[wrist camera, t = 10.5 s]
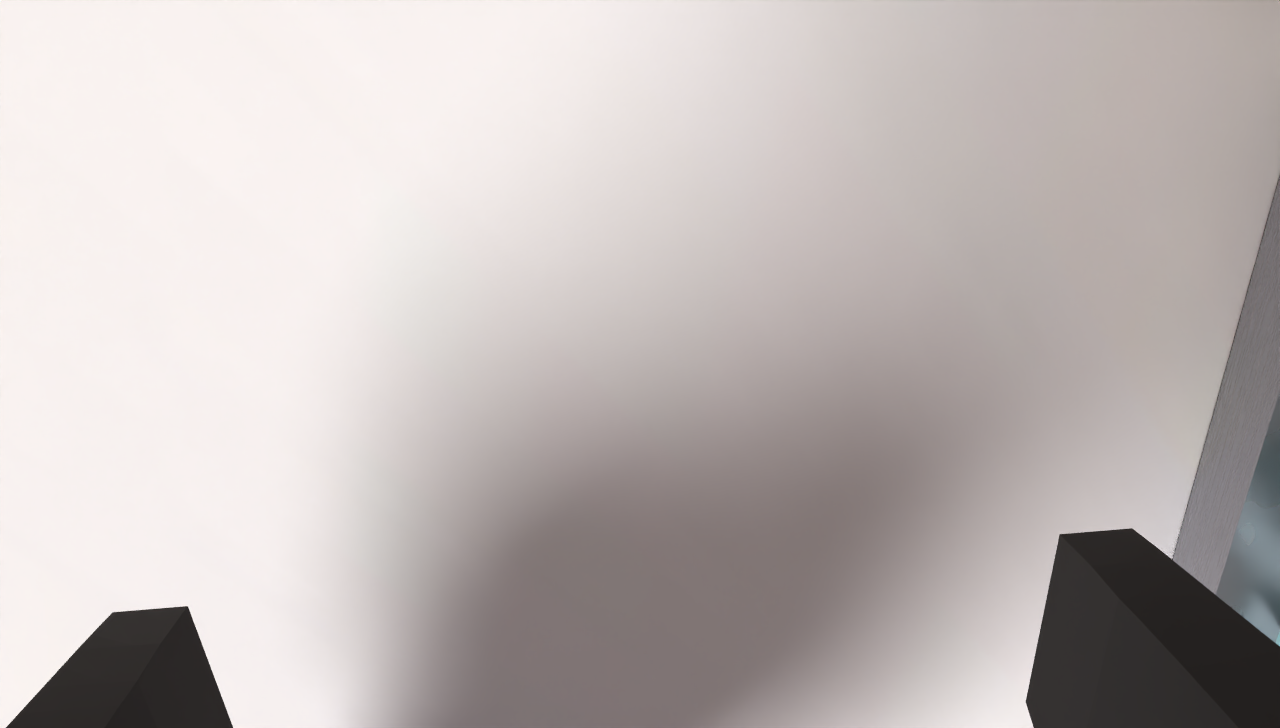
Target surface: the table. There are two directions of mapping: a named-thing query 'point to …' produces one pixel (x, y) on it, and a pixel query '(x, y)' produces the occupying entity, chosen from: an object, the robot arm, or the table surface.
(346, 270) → the table surface
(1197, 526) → the carrier
